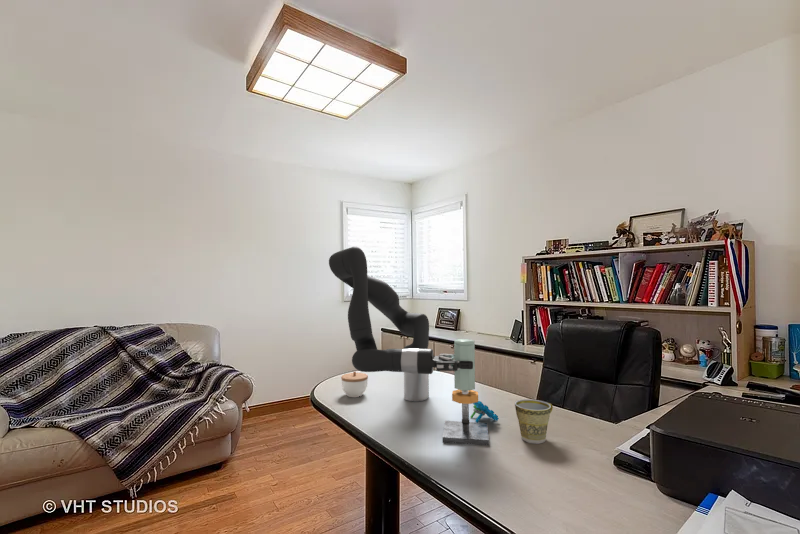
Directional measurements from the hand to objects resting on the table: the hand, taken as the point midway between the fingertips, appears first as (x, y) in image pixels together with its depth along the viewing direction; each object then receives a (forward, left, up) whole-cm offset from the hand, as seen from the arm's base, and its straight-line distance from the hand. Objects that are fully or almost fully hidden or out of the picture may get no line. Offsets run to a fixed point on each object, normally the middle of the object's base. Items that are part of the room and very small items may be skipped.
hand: (472, 362), depth 117 cm
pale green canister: (+1, -2, -7) cm, 8 cm away
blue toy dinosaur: (-13, -3, -22) cm, 26 cm away
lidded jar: (-6, -58, -22) cm, 62 cm away
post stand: (+1, -2, -22) cm, 22 cm away
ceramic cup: (-10, +15, -22) cm, 28 cm away
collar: (+1, -2, -11) cm, 11 cm away
